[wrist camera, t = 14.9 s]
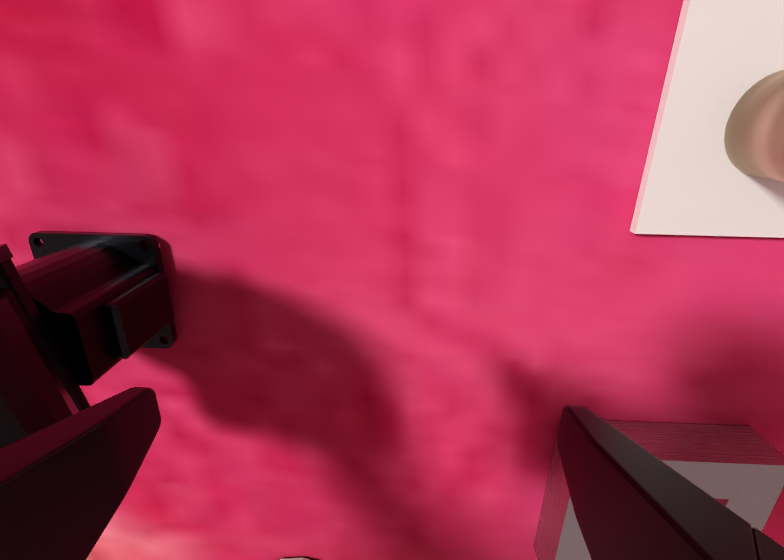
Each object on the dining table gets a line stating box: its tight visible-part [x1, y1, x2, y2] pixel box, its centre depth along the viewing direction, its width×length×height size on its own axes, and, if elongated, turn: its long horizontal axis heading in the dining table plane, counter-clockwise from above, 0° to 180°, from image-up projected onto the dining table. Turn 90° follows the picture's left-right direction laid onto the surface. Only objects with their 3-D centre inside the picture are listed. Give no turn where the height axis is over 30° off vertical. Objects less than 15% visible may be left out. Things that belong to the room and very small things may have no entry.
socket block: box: [534, 420, 784, 560], centre depth 25 cm, size 11×11×3 cm
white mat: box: [630, 0, 784, 238], centre depth 18 cm, size 10×10×1 cm
